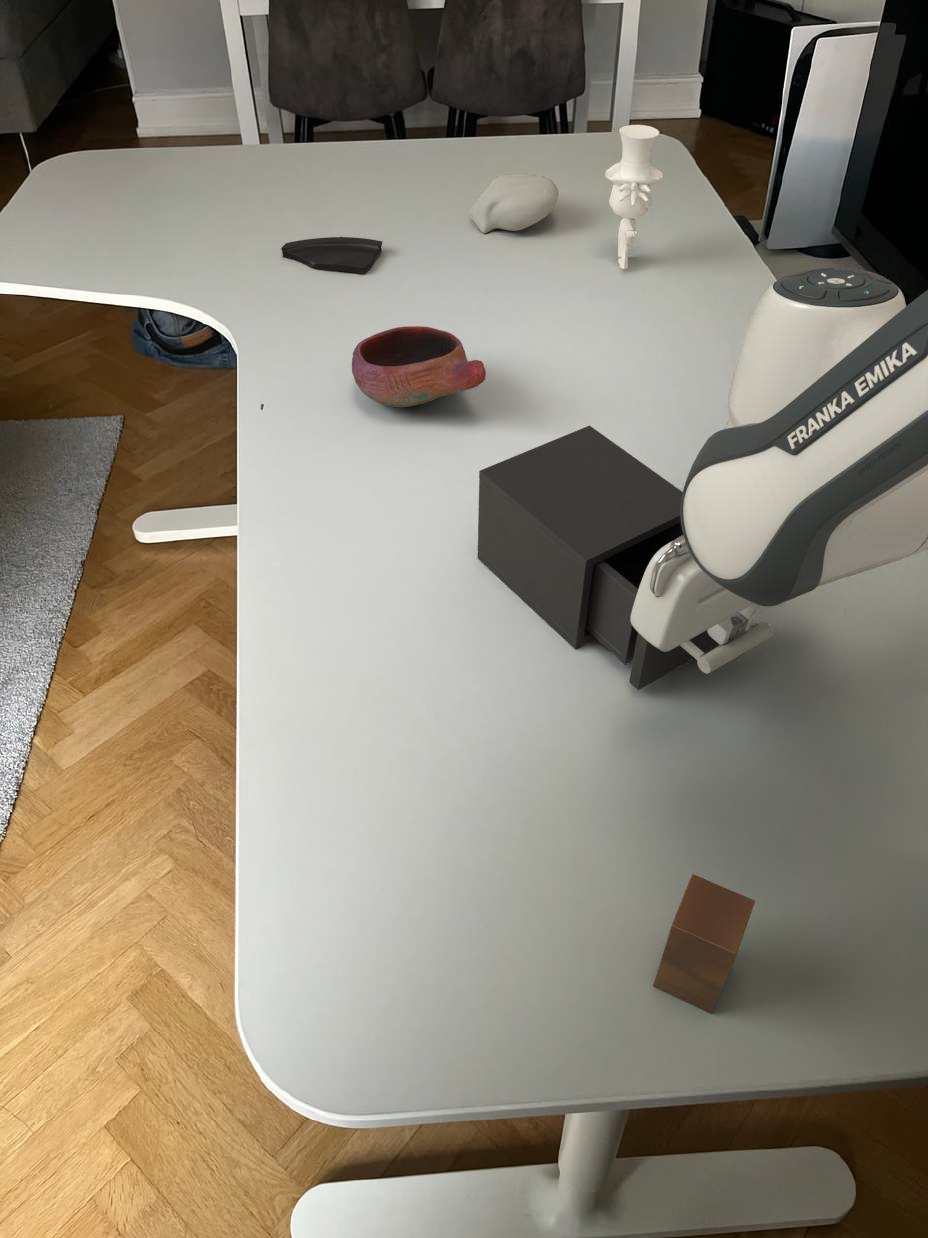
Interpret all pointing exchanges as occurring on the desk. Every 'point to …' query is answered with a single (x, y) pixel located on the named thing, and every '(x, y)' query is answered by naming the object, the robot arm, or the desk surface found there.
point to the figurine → (632, 183)
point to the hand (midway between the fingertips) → (727, 632)
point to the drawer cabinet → (567, 521)
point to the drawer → (614, 630)
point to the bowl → (413, 366)
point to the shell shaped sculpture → (514, 202)
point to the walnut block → (703, 943)
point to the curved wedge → (334, 253)
